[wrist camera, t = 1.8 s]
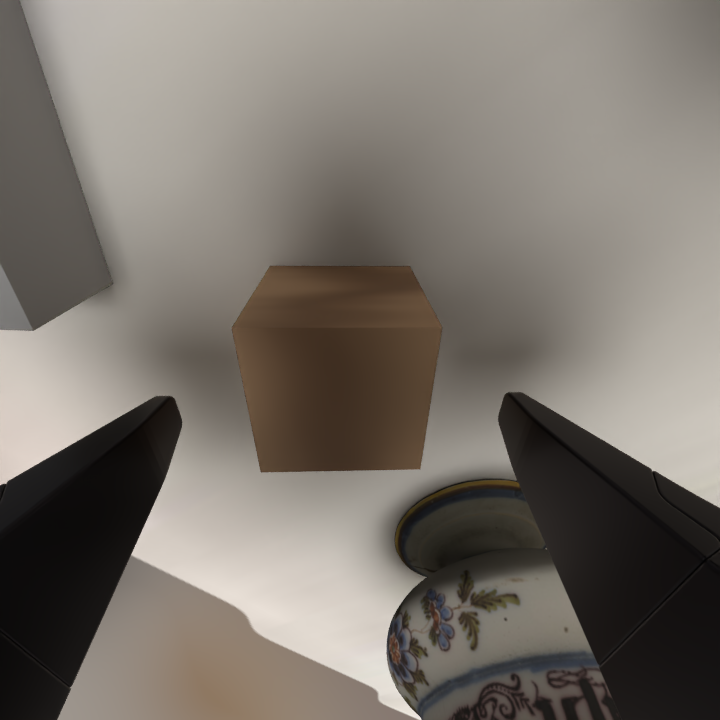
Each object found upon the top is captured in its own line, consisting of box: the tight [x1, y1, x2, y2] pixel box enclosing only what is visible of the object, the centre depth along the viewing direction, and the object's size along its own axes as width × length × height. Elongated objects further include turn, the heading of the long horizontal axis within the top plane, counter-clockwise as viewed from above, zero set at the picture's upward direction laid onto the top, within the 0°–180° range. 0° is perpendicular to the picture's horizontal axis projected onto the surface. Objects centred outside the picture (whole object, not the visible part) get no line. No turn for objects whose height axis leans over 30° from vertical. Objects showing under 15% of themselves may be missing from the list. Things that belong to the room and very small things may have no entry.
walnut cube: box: [232, 266, 442, 472], centre depth 12 cm, size 5×5×5 cm
